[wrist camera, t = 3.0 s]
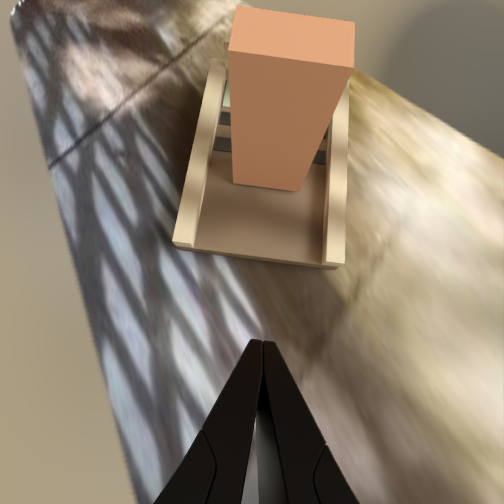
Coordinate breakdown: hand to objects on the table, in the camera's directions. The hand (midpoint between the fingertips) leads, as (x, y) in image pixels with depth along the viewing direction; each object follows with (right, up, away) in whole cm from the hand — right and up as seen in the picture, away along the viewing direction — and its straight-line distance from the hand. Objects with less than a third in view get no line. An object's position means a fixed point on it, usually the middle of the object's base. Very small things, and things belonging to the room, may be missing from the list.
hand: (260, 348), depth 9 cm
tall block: (+1, +11, +16) cm, 19 cm away
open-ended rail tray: (+1, +12, +18) cm, 21 cm away
